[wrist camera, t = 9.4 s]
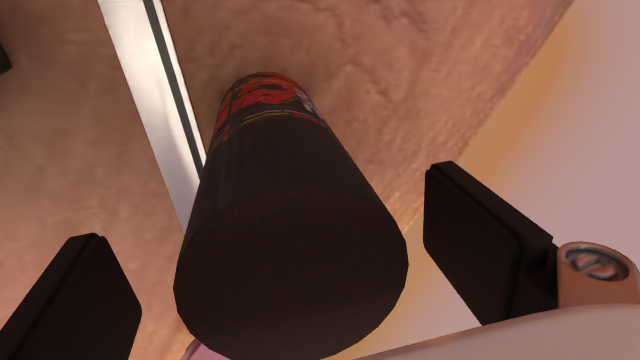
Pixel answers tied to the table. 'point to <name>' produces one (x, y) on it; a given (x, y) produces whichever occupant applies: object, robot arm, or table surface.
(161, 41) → the ruler
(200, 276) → the deodorant
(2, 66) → the green animal figurine
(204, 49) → the table surface
